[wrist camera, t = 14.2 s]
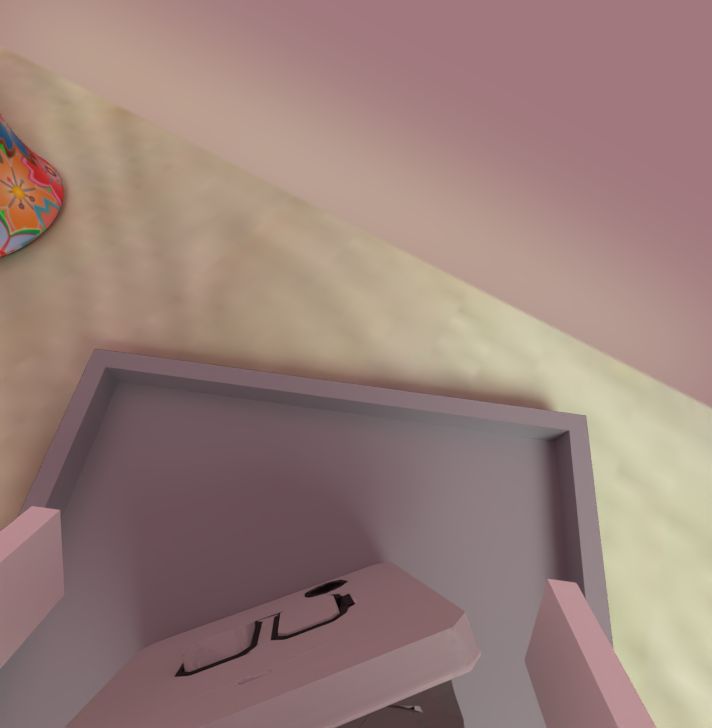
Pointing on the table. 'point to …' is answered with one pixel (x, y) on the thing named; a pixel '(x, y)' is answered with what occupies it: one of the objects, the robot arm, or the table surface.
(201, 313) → the table surface
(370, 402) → the grey square tray
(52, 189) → the mug
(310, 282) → the table surface
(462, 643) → the electrical switch
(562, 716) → the robot arm
